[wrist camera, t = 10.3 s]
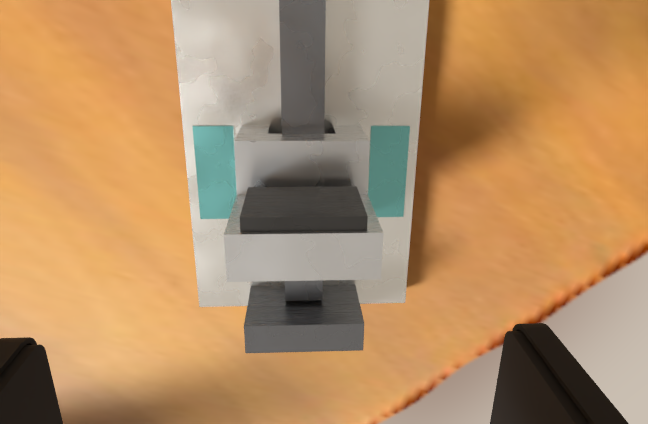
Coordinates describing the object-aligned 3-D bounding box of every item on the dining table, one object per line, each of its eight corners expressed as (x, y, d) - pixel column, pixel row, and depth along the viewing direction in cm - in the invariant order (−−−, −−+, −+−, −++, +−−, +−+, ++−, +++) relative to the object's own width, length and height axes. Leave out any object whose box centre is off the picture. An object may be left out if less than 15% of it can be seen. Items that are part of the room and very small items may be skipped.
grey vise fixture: (149, -325, 20) (32, -602, 11) (445, -311, 20) (559, -562, 12) (204, 297, 30) (166, 413, 21) (399, 294, 31) (441, 404, 22)
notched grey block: (241, 125, 25) (219, 169, 18) (360, 125, 25) (387, 169, 18) (246, 217, 27) (227, 293, 19) (356, 216, 27) (380, 290, 20)
